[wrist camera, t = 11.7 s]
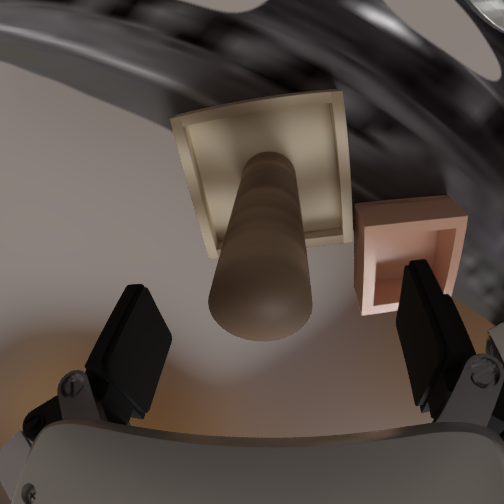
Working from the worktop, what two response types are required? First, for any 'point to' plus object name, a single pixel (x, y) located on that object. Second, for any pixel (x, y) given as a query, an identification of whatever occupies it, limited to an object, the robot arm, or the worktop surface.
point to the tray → (274, 140)
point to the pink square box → (404, 246)
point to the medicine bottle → (496, 342)
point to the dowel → (263, 256)
